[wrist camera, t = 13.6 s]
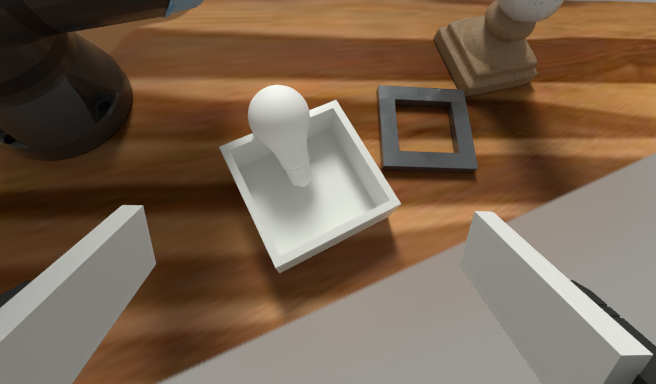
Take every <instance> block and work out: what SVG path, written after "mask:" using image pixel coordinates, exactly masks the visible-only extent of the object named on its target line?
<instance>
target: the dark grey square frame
mask: <svg viewBox="0 0 656 384" xmlns="http://www.w3.org/2000/svg"><path fill="white" fill-rule="evenodd" d="M376 93H377V109H378V124H379V140H380V155H381V170H402V171H433V172H464V173H473V172H475V171H476V170H477V169H478V166H477V161H476V155H475V150H474V144H473V139H472V133H471V128H470V122H469V116H468V111H467V105H466V100H465V94H464V90H458V89H438V88H419V87H400V86H381V85H378V88H377V91H376ZM395 105H411V106H432V107H447V110H448V116H449V122H450V129H451V135H452V142H453V148H454V153H438V152H411V151H399V143H398V132H397V120H396V109H395Z"/></svg>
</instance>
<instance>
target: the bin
mask: <svg viewBox="0 0 656 384" xmlns="http://www.w3.org/2000/svg"><path fill="white" fill-rule="evenodd" d="M309 114H310V121H309V129H308V134H307V148H308V153H309V157H310V160H309V164H310V167H311V171H312V174H313V178H312V180H311V181H310V182H309V184H308V185H307V186H305V187H300V186H295V185H293V184H292V183H291V181H290V179H289V177H288V175H287V172H286V170H285V169H283V168H282V166H281V164H280V162H279V160H278V158H277V157H276V155H275V154H274V153H273V152H272V151H271V150H270V149H269V148H268V147H267V146H266V145H264V144H263V143H262V142H261V141H260V140H259V139H258V138H257V137H256V136H255V135H254V133H252V134H250V135H247V136H245V137H242V138H240V139H237V140H235V141H232V142H230V143H227V144H225V145H222V146H220V147H219V148H220V150H221V152H222V154H223V156H224V158H225V161H226V163H227V165H228V167H229V169H230V171H231V173H232V176H233V178H234V180H235V182H236V184H237V186H238V189H239V191H240V193H241V195H242V197H243V199H244V201H245V204H246V206H247V208H248V210H249V212H250V214H251V216H252V219H253V221H254V223H255V225H256V227H257V229H258V231H259V234H260V236H261V238H262V240H263V242H264V244H265V247H266V249H267V251H268V253H269V255H270V257H271V259H272V262H273V264H274V266H275V268H276V269H277V271H278V272H279V274H280V273H282V272H284V271H285V270H287V269H289V268H291V267H293V266H295V265H297V264H299V263H301V262H303V261H305V260H307V259H309V258H310V257H312V256H314V255H316V254H318V253H320V252H322V251H324V250H326V249H328V248H330V247H332V246H334V245H335V244H337V243H339V242H341V241H343V240H345V239H347V238H349V237H351V236H353V235H355V234H357V233H359V232H360V231H362V230H364V229H366V228H368V227H370V226H372V225H374V224H376V223H378V222H380V221H382V220H384V219H385V218H387V217H389V216H390V215H391V214H392V212H393V211H394V210H395V209H396V208H397V207H398V206H399V205H400V204H401V203H400V202H399V200H398V198H397V197H396V195H395V194H394V192H393V190H392V189H391V187H390V186H389V184H388V182H387V181H386V179H385V178H384V176H383V174H382V173H381V171H380V170H379V168H378V166H377V165H376V163H375V162H374V160H373V158H372V157H371V155H370V153H369V152H368V150H367V149H366V147H365V145H364V144H363V142H362V141H361V139H360V137H359V136H358V134H357V133H356V131H355V129H354V128H353V126H352V125H351V123H350V121H349V120H348V118H347V117H346V115H345V113H344V112H343V110H342V109H341V107H340V105H339V104H338V102H337V101H336V100H335V101H332V102H330V103H327V104H325V105H322V106H320V107H317V108H315V109H312V110H310V111H309Z"/></svg>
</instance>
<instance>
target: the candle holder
mask: <svg viewBox="0 0 656 384" xmlns="http://www.w3.org/2000/svg"><path fill="white" fill-rule="evenodd" d="M563 1H564V0H496V1H495V2H493V3H492V4H491V5H490V6H489V7H488V9H487V10H486V13H485V15H484V16H477V17H472V18H466V19H461V20H457V21H453V22H452V23H449V25H448V26H445V27H441V28H439V29H438V30H437V32H436V34H435V36H434V42H435V44H436V46H437V48H438V50H439V52H440V54H441V56H442V58H443V60H444V62H445V64H446V66H447V68H448V70H449V72H450V74H451V76H452V78H453V80H454V82H455V84H456V86H457V88H458V90H464V94H465V97H468V96H474V95H479V94H484V93H489V92H494V91H499V90H503V89H508V88H513V87H518V86H522V85H526V84H528V83H530V82H531V81H532V80H533V79H534V78H535V76H536V75H537V71H536V70H535V68H534V67H535V66H536V65H537V59H536V57H535V55H534V53H533V51H532V50H531V48H530V46H529V45H528V43H527V41H526V39H525V38H526V37H528V36H529V35H530V34H531V32H532V31H533V29H534V27H535V24H536V22H537V21H541V20H544V19H546V18H548V17H549V16H551V15H552V14H554V13H555V12H556V11H557V10H558V9H559V7H560V6H561V5H562V3H563Z"/></svg>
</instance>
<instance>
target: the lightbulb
mask: <svg viewBox="0 0 656 384" xmlns="http://www.w3.org/2000/svg"><path fill="white" fill-rule="evenodd" d="M248 121H249V125H250V128H251V130H252V132H253V133H254V135H255V136H256V137H257V138H258V139H259V140H260V141H261V142H262V143H263V144H264V145H266V146H267V147H268V148H269V149H270V150H271V151H272V152H273V153H274V154H275V155H276V157H277V158H278V160H279V162H280V164H281V166H282V168H283V169H285V170H286V172H287V175H288V177H289V179H290V181H291V183H292V184H293V185H295V186H300V187H305V186H307V185H308V184H309V182H310V181H311V180H312V178H313V174H312V171H311V167H310V164H309V160H310V157H309V153H308V148H307V134H308V129H309V121H310V114H309V109H308V106H307V103H306V102H305V100H304V98H303V97H302V96H301V95H300V94H299V93H298V92H297V91H295V90H294V89H292V88H290V87H287V86H283V85H272V86H268V87H266V88H264V89H262V90H261V91H259V92H258V93H257V94H256V95H255V96H254V98H253V99H252V101H251V103H250V106H249V110H248Z"/></svg>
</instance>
